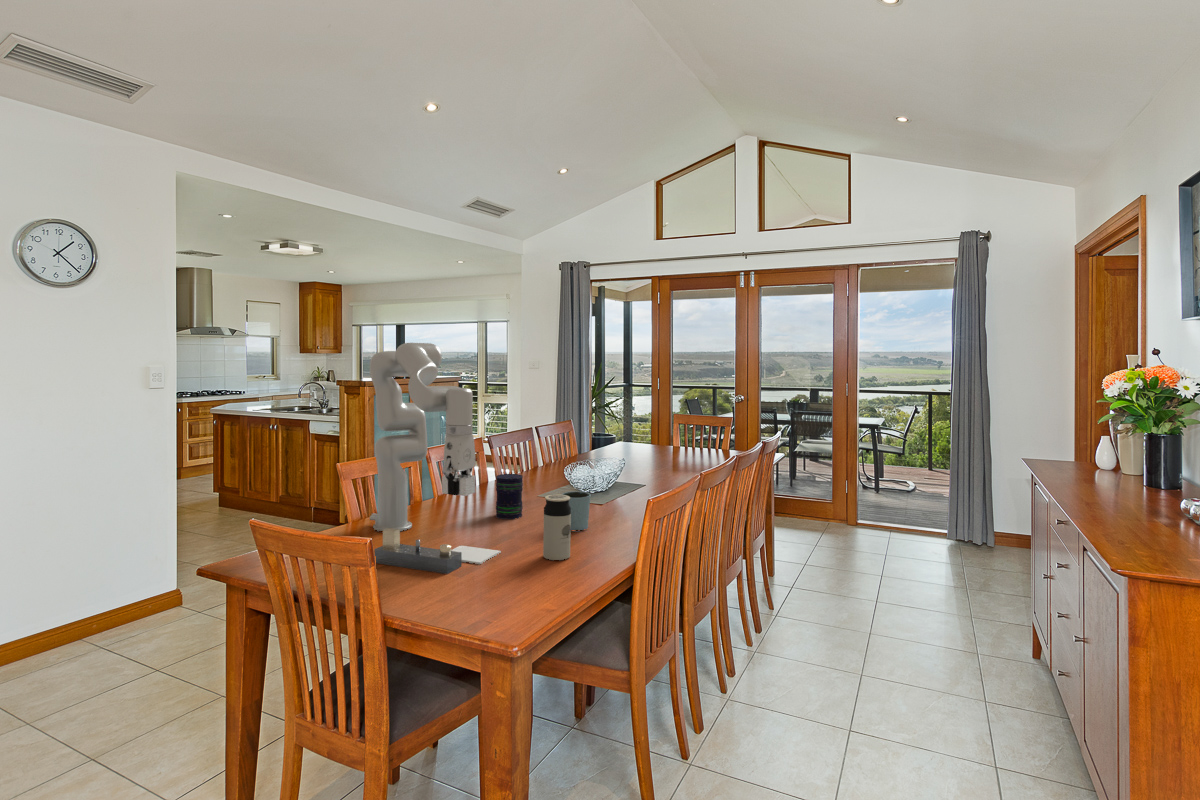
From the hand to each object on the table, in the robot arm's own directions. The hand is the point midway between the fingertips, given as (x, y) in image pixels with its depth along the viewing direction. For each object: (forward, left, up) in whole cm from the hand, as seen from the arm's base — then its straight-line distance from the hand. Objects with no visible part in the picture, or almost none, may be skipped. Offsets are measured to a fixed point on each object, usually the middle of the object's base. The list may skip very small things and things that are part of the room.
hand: (458, 492), depth 187 cm
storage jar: (-10, +50, -20) cm, 55 cm away
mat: (+2, +3, -19) cm, 20 cm away
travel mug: (+26, +12, -20) cm, 35 cm away
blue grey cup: (+19, +44, -20) cm, 52 cm away
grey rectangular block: (0, 0, 0) cm, 0 cm away
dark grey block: (-7, -10, -19) cm, 23 cm away
